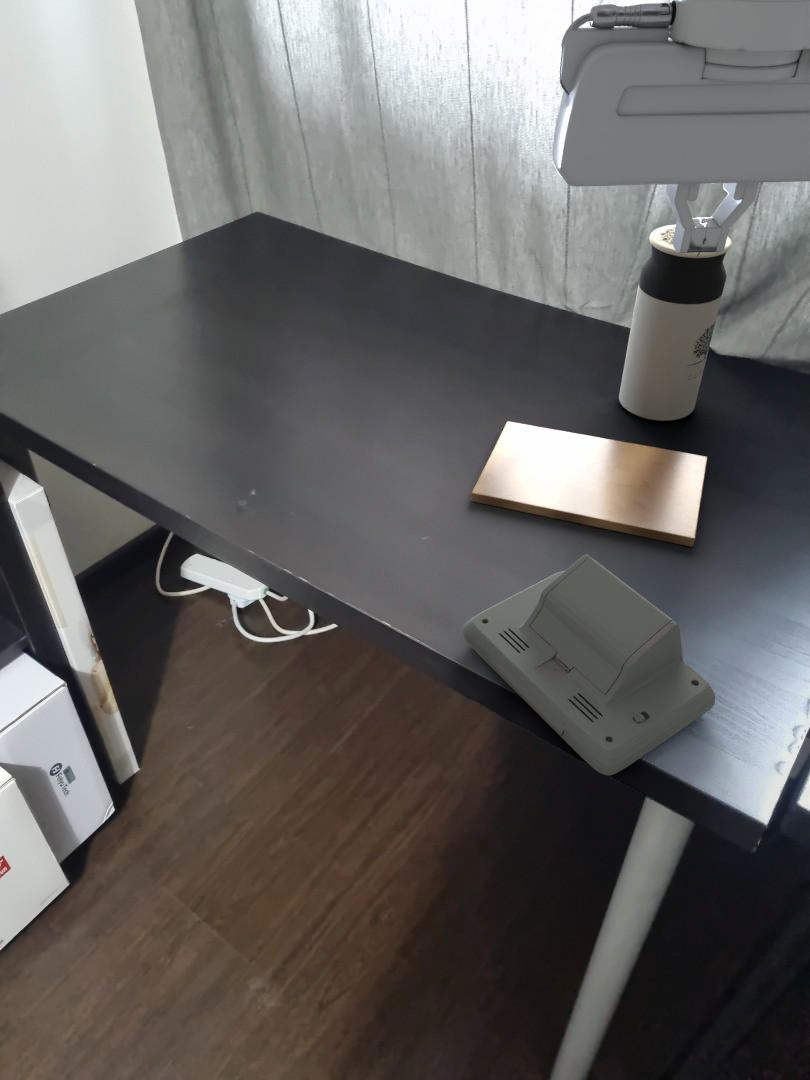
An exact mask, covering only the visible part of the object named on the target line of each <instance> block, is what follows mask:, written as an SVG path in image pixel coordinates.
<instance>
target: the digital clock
mask: <svg viewBox="0 0 810 1080" xmlns="http://www.w3.org/2000/svg"><path fill="white" fill-rule="evenodd" d="M461 635H462V637H463V639H464V640H465V642H467V644H468V645H469V646H470V647H471V648H472V649H473V651H475V652H476V653H477V655H479V656H480V658H481V659H483V661H484V662H486V664H487V665H488V666H489V667H490V668H491V669H492V670H493V671H495V673H496V674H497V675H498V676H499V677H500V678H501V679H502V680H503V681H505V683H506V684H507V685H508V686H509V687H510V688H511V689H512V690H513V691H514V692H515V693H516V694H517V695H518V696H519V697H521V699H522V700H523V701H524V702H525V703H526V704H527V705H528V706H529V707H530V708H531V709H532V710H533V711H534V712H536V714H537V715H538V716H539V717H541V718H542V719H543V721H544V722H545V723H546V724H548V726H549V727H550V728H551V729H553V730H554V732H555V733H556V734H557V735H559V736H560V738H561V739H563V741H565V743H566V744H568V745H569V747H570V748H572V750H573V751H574V752H575V753H576V754H577V755H579V757H581V758H582V759H583V760H584V761H585V762H586V763H587V764H588V765H589V766H591V768H592V769H593V770H595V771H596V772H597V773H600V774H602V775H603V776H604V775H605V776H613V775H615V774H617V773H619V772H621V771H622V770H624V769H626V768H627V767H629V766H631V765H632V764H633V763H635V762H637V761H638V760H639V759H640V758H642V757H644V756H646V754H648V753H650V752H651V751H652V750H654V749H655V748H657V747H658V746H659V745H661V744H662V743H664V742H665V741H667V740H668V739H670V738H671V737H673V736H674V735H676V734H677V733H679V732H680V731H682V730H683V729H685V728H686V727H687V726H689V725H690V724H692V723H693V722H694V721H697V719H699V718H700V717H702V716H703V715H705V714H706V713H707V712H709V711H711V709H712V708H713V707H714V705H715V703H716V693H715V691H714V689H713V687H712V686H711V684H710V683H709V682H708V681H707V680H706V679H705V678H704V677H703V676H702V675H701V674H699V673H698V672H697V670H695V669H693V667H691V666H690V665H689V664H687V663H686V662H685V661H684V655H683V648H682V638H681V629H680V625H679V624H678V623H677V622H676V621H675V620H673V618H671V617H670V616H669V615H667V614H666V613H665V612H663V611H662V610H660V608H658V607H657V606H656V605H654V604H652V603H651V602H650V601H649V600H648V599H646V598H645V597H644V596H642V595H641V594H640V593H638V592H637V591H636V590H635V589H633V588H632V587H631V586H630V585H628V584H627V583H626V582H624V581H623V579H620V578H619V577H618V576H617V575H615V574H614V573H613V572H611V571H610V570H609V569H607V567H605V566H604V565H602V564H601V563H600V562H598V561H597V560H596V559H594V558H593V557H591V556H590V555H589V554H587V553H585V554H583V555H582V556H581V557H580V558H578V559H577V560H576V561H575V562H574V563H572V564H571V565H570V566H569V567H567V569H565V570H561V571H558V572H555V573H553V574H552V575H550V576H548V577H546V578H544V579H542V580H540V581H538V582H536V583H535V584H533V585H530V586H529V587H527V588H525V589H523V590H520V591H518V592H517V593H515V594H513V595H511V596H509V597H508V598H506V599H504V600H501V601H500V602H497V603H496V604H494V605H492V606H491V607H488V608H487V609H485V610H482V611H481V612H479V613H477V614H476V615H474V616H472V617H471V618H469V619H468V620H467V621H466V622H464V625H463V626H462V629H461Z"/></svg>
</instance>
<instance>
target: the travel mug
mask: <svg viewBox="0 0 810 1080" xmlns="http://www.w3.org/2000/svg"><path fill="white" fill-rule="evenodd" d="M675 227H676V224H669V225H664V226H661V227H657V228H656V229H654V230H653V231H652V232H651V233H650V234H649V238H648V239H649V243H650V245H651V246H650V247H651V250H650V252H651V253H650V255H649V256H648V257H647V259H646V260H645V262H643V264H642V266H641V268H640V273H639V274H640V275H639V281H638V285H637V292H636V296H635V297H636V298H635V301H634V308H633V315H632V321H631V326H630V331H629V337H628V342H627V348H626V354H625V359H624V365H623V371H622V377H621V381H620V382H621V383H620V388H619V394H618V400H619V403H620V405H621V406H622V407H623V409H626V410H627V411H628V412H630V413H631V414H633V415H635V416H638V417H640V418H643V419H647V420H653V421H661V422H664V421H676V420H680V419H683V418H686V417H687V416H689V415H690V414H692V413H693V412H694V410H695V408H696V403H697V399H698V395H699V390H700V388H701V387H700V386H701V382H702V377H703V374H704V371H705V367H706V362H707V360H708V359H707V358H708V355H709V350H710V345H711V342H712V341H711V340H712V337H713V334H714V330H715V326H716V321H717V317H718V313H719V309H720V306H721V300H722V297H723V293H724V290H725V284H726V282H727V272H726V268H725V265H724V260H725V257H726V254H727V252H728V251H730V249H731V248H732V245H733V243H732V239H731V238H730V237H729V235H728V236H727V240H726V245H725V248H724V250H723V252H702V253H700V252H693V253H677V251H676V250H675V248H674V247H673V237H674V232H675Z"/></svg>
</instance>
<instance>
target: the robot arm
mask: <svg viewBox="0 0 810 1080" xmlns="http://www.w3.org/2000/svg"><path fill="white" fill-rule="evenodd" d="M587 23H589V26H590V27H581V26H582V25H584V24H587ZM557 73H558V80H559V81H558V82H559V84H560V86H561V88H562V90H563V92H562V95H561V99H560V102H559V103H560V104H559V108H558V113H557V117H556V122H555V127H554V133H553V138H552V139H553V140H552V147H551V160H552V164H553V166H554V168H555V170H556V172H557V173H558V175H559V176H560V177H561V179H563V181H564V182H565V183H566V184H567V185H568V186H570V187H579V188H580V187H614V186H615V187H616V186H617V187H619V186H621V187H622V186H660V185H662V186H663V185H665V190H664V192H665V194H666V197H667V200H668V202H669V205H670V208H671V210H672V213H673V215H674V218H675V220H676V222H675V225H676V227H675V232H674V237H673V247H674V248H675V250H676V251H677V253H693V252H700V253H702V252H723V250H724V248H725V245H726V240H727V236H728V237H729V232H730V228H731V227H734V225H735V224H736V222H738V220H739V219H740V217H742V216H743V214H744V213H745V212H746V211H747V210H748V208H750V206H751V205H752V204H754V202H755V200H756V197H757V193H758V189H759V186H760V183H795V182H797V183H799V182H800V183H801V182H810V0H669V2H658V3H657V2H656V3H653V2H652V3H640V4H634V5H633V4H632V5H617V4H613V3H606V4H598V5H595V6H592V7H591V8H590V11H589V12H588V13H585V14H583V15H580V16H579V17H578V18H576V19H575V20H574V21H573V22H572V23H571V24H570V25H569V26H568V28H567V29H566V31H565V33H564V35H563V37H562V40H561V43H560V51H559V61H558V71H557ZM703 184H704V185H709V184H710V185H711V184H722V189H723V190H724V191H725V192H726V193H727V194H726V196H725V197H724V198H723V200H722V201H721V203H720V204H719V205H718V206H717V208H716V209H715V211H714V212H713V213H712V215H711V216H709V217H708V216H707V217H693V216H692V213H691V210H690V207H689V204H688V202H695V201H697V199H698V195H699V191H700V187H701V185H703Z"/></svg>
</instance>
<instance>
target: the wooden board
mask: <svg viewBox="0 0 810 1080" xmlns="http://www.w3.org/2000/svg"><path fill="white" fill-rule="evenodd" d="M707 464H708V456H704V455H700V454H694V453H688V452H683V451H677V450H673V449H672V450H671V449H665V448H661V447H655V446H649V445H643V444H639V443H638V444H637V443H632V442H628V441H627V442H626V441H621V440H616V439H610V438H604V437H599V436H593V435H587V434H583V433H582V434H581V433H576V432H570V431H565V430H559V429H553V428H548V427H543V426H537V425H531V424H526V423H520V422H515V421H509V420H508V421H506V423H505V425H504V427H503V430H502V431H501V433H500V435H499V437H498V439H497V441H496V443H495V445H494V447H493V450H492V451H491V453H490V456H489V457H488V459H487V462H486V463H485V465H484V467H483V469H482V471H481V474H480V475H479V478H478V479H477V481H476V484H475V485H474V487H473V490H472V492H471V497H470V501H471V502H475V503H478V504H484V505H489V506H493V507H499V508H503V509H507V510H513V511H517V512H521V513H528V514H532V515H537V516H542V517H546V518H551V519H556V520H561V521H565V522H571V523H575V524H579V525H585V526H590V527H595V528H599V529H604V530H609V531H614V532H619V533H624V534H628V535H633V536H637V537H642V538H647V539H651V540H652V539H653V540H658V541H662V542H667V543H671V544H676V545H682V546H685V547H691V548H692V547H694V544H695V541H696V536H697V529H698V523H699V517H700V516H699V515H700V509H701V504H702V497H703V491H704V483H705V477H706V470H707Z"/></svg>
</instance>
